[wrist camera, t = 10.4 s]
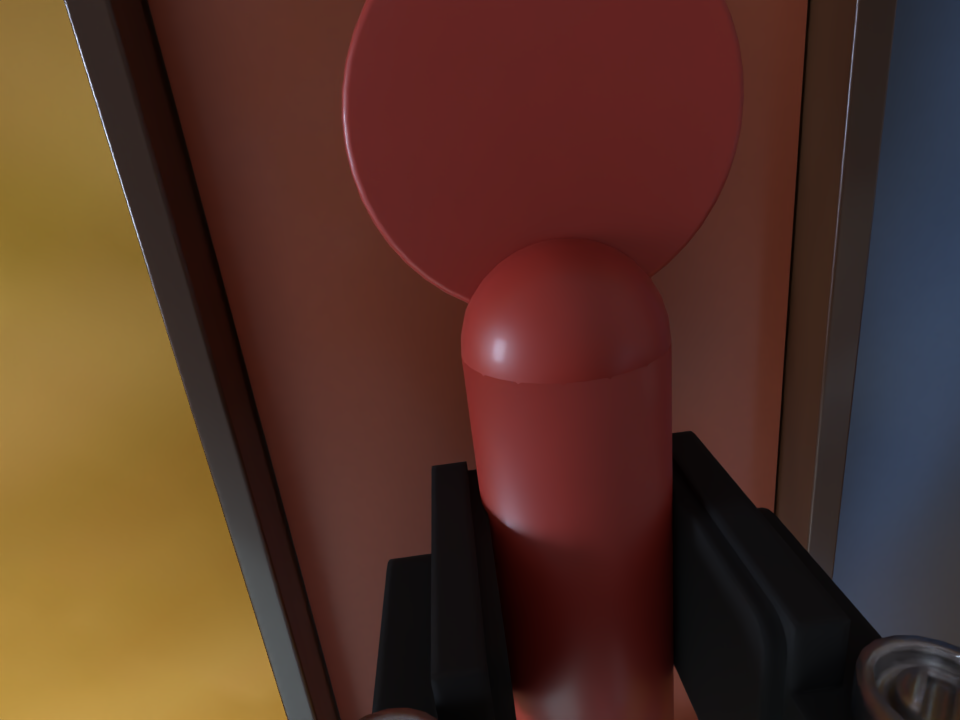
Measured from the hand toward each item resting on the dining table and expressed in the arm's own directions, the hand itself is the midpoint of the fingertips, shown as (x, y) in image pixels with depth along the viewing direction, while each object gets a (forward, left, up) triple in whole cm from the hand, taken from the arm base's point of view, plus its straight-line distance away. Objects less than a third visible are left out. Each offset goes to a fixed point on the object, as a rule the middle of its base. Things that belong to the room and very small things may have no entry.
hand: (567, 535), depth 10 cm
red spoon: (0, 0, 0) cm, 0 cm away
